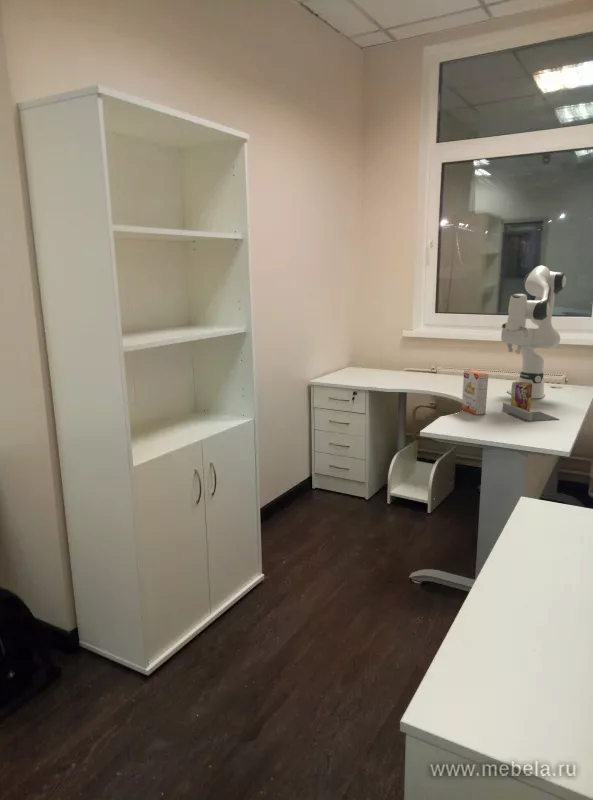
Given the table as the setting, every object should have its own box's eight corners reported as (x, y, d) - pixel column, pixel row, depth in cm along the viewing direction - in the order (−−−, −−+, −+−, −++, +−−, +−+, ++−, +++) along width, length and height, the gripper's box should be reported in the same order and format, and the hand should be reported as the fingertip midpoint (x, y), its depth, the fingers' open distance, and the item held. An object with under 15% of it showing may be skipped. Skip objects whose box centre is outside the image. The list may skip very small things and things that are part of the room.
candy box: (526, 410, 295) (528, 381, 292) (530, 412, 291) (533, 383, 288) (509, 410, 294) (512, 381, 291) (513, 412, 290) (516, 383, 287)
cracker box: (460, 409, 298) (463, 369, 293) (471, 408, 299) (474, 369, 294) (475, 415, 284) (478, 374, 280) (485, 414, 286) (489, 373, 281)
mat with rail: (499, 410, 294) (500, 403, 294) (531, 409, 298) (531, 401, 297) (525, 421, 272) (526, 413, 272) (559, 419, 276) (560, 411, 275)
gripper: (533, 327, 283) (531, 355, 286) (510, 324, 303) (508, 350, 306) (522, 327, 282) (519, 355, 285) (500, 324, 302) (497, 350, 305)
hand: (513, 352), depth 296 cm, fingers open, 5 cm apart
